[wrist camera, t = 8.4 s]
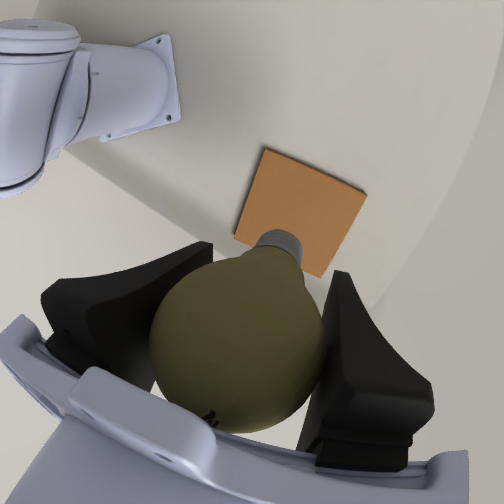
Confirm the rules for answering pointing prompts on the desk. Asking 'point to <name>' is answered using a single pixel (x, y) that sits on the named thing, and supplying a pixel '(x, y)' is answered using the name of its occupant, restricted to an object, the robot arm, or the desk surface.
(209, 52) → the desk surface
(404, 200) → the desk surface
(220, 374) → the light bulb
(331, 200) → the mat
